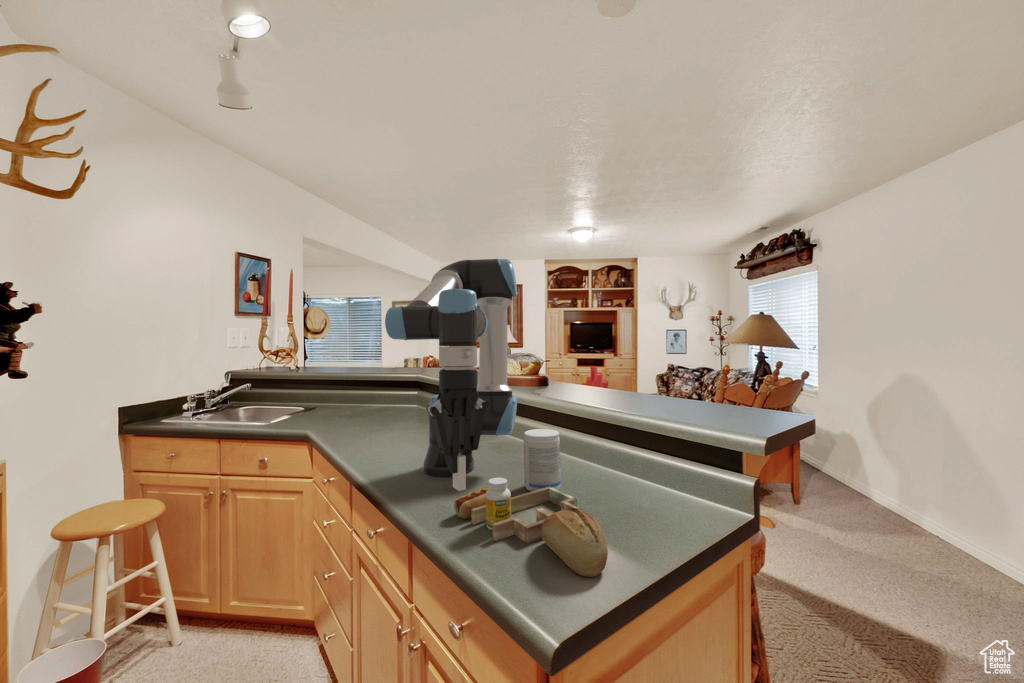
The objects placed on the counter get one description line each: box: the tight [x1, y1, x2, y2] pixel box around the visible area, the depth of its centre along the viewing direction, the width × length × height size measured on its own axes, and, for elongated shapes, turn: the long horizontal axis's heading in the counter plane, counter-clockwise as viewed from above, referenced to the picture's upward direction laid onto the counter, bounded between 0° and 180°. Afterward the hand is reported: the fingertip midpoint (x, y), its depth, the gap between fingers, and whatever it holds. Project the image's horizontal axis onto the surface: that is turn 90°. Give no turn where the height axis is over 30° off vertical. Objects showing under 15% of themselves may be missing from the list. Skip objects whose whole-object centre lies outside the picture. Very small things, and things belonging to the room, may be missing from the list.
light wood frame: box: [470, 486, 583, 545], centre depth 85 cm, size 14×22×3 cm, turn 125°
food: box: [453, 486, 489, 520], centre depth 91 cm, size 14×6×5 cm, turn 135°
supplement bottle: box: [485, 477, 512, 531], centre depth 83 cm, size 5×5×10 cm
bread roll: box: [541, 508, 609, 578], centre depth 71 cm, size 10×15×8 cm, turn 28°
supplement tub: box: [523, 428, 562, 492], centre depth 104 cm, size 10×10×15 cm
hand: (459, 488), depth 78 cm, fingers closed
